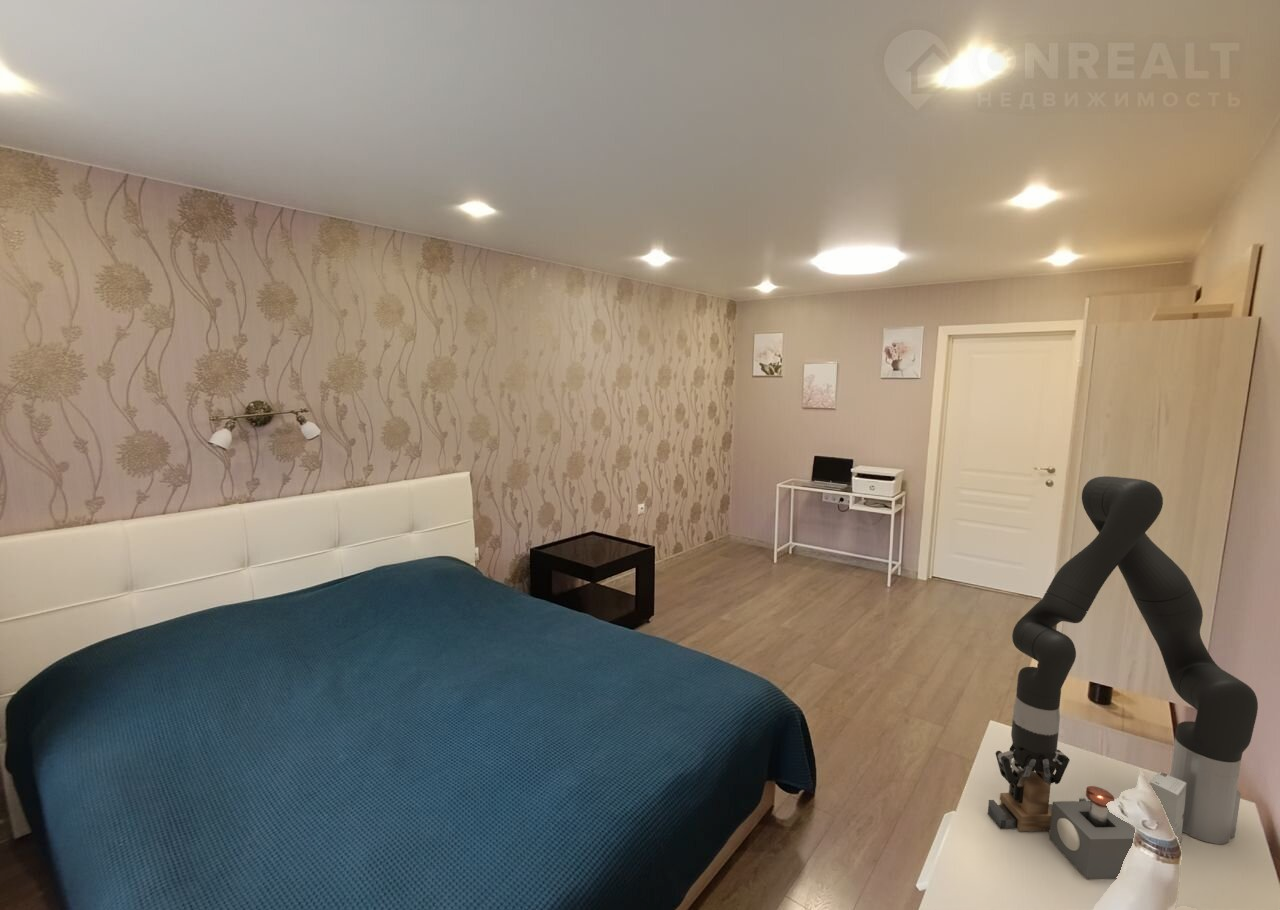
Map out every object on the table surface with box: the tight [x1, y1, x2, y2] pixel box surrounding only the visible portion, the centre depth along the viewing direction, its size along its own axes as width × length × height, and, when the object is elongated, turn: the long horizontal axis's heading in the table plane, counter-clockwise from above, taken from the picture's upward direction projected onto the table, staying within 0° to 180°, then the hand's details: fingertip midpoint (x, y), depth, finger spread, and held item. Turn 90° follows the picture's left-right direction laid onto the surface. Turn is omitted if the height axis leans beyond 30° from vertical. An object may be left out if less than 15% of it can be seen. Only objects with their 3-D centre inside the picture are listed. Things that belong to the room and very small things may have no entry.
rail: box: [987, 798, 1087, 830], centre depth 113 cm, size 20×4×3 cm, turn 91°
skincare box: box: [1149, 771, 1187, 843], centre depth 108 cm, size 6×4×12 cm
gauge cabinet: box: [1048, 800, 1136, 880], centre depth 104 cm, size 10×9×8 cm
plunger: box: [1085, 785, 1115, 827], centre depth 103 cm, size 4×4×7 cm
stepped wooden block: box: [999, 767, 1052, 832], centre depth 113 cm, size 7×6×9 cm
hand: (1028, 799), depth 113 cm, fingers closed on stepped wooden block, 4 cm apart
